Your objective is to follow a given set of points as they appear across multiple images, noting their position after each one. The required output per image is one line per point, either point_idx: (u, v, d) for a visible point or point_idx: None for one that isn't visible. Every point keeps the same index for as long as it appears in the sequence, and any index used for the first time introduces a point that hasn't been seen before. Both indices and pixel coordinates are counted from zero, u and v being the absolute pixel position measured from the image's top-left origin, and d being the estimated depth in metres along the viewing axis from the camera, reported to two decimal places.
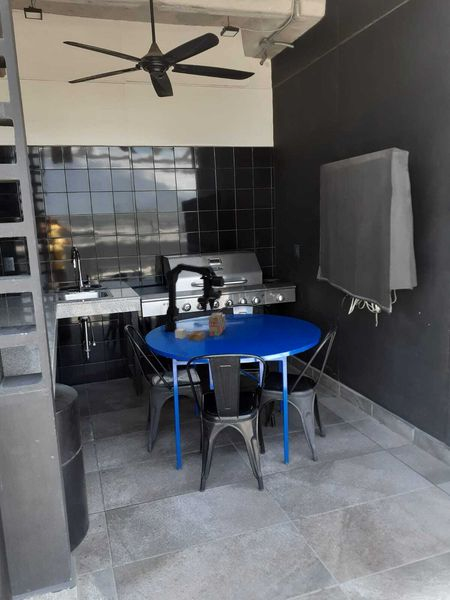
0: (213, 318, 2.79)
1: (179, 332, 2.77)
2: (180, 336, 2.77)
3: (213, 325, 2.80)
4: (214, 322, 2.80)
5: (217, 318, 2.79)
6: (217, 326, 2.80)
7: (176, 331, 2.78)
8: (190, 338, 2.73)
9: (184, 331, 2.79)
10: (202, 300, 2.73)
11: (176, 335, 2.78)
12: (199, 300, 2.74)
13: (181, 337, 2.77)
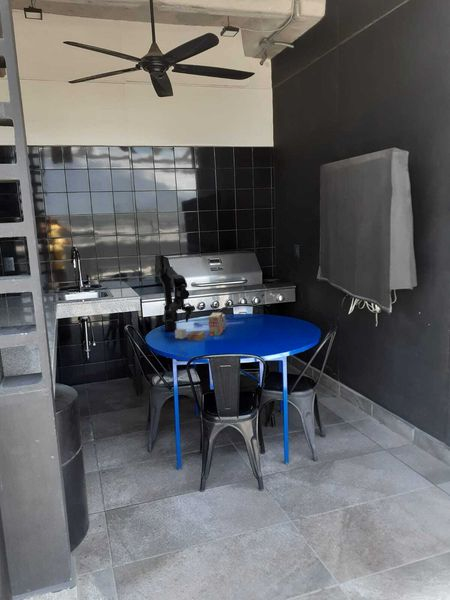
0: (213, 318, 2.80)
1: (179, 332, 2.77)
2: (180, 336, 2.77)
3: (212, 325, 2.81)
4: (214, 321, 2.80)
5: (217, 318, 2.79)
6: (217, 326, 2.80)
7: (176, 331, 2.78)
8: (190, 338, 2.73)
9: (184, 331, 2.79)
10: None
11: (176, 335, 2.78)
12: None
13: (181, 337, 2.77)
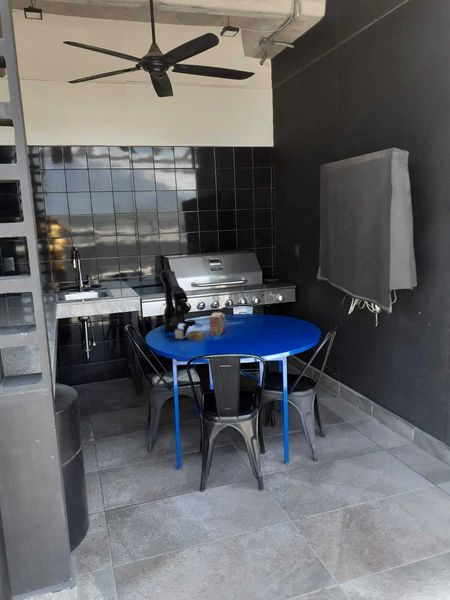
0: (214, 318, 2.80)
1: (179, 332, 2.77)
2: (180, 336, 2.77)
3: (213, 325, 2.81)
4: (214, 321, 2.80)
5: (218, 318, 2.79)
6: (218, 326, 2.80)
7: (176, 331, 2.78)
8: (190, 338, 2.72)
9: None
10: None
11: (176, 335, 2.78)
12: None
13: (181, 337, 2.77)
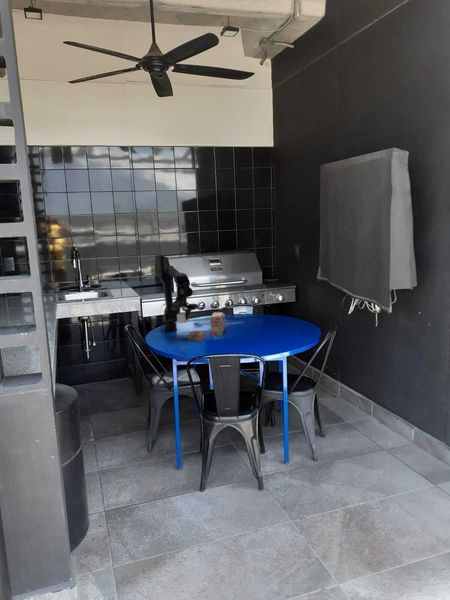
0: (215, 318, 2.80)
1: (181, 316, 2.74)
2: (182, 320, 2.74)
3: (215, 325, 2.81)
4: (216, 321, 2.80)
5: (219, 318, 2.80)
6: (219, 326, 2.81)
7: (178, 315, 2.75)
8: (191, 338, 2.72)
9: None
10: None
11: (178, 319, 2.75)
12: None
13: (183, 321, 2.74)
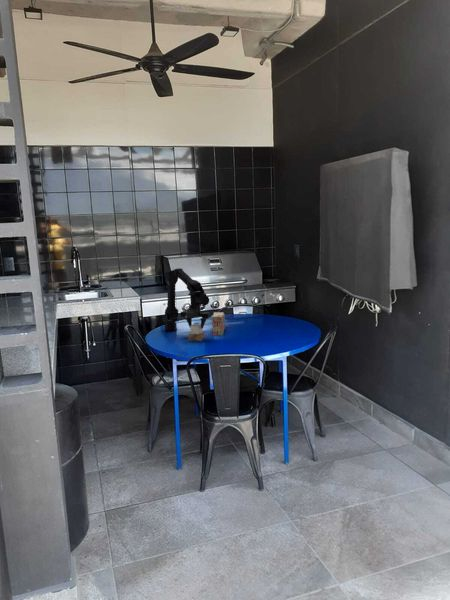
0: (217, 318, 2.80)
1: (195, 328, 2.72)
2: (196, 332, 2.72)
3: (216, 325, 2.81)
4: (217, 321, 2.81)
5: (221, 318, 2.80)
6: (221, 325, 2.81)
7: (191, 326, 2.72)
8: (191, 338, 2.72)
9: (200, 326, 2.74)
10: None
11: (191, 331, 2.73)
12: None
13: (197, 333, 2.72)
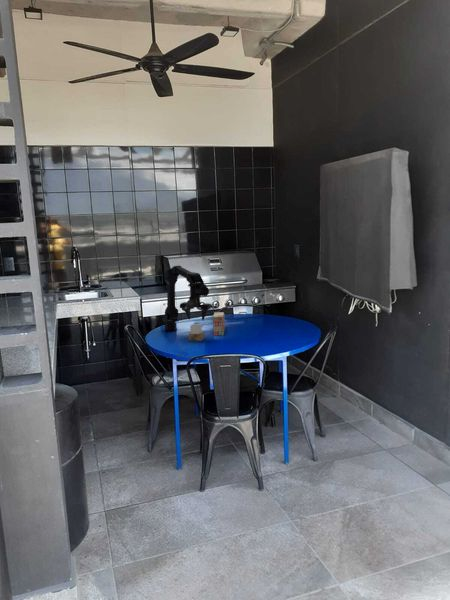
0: (217, 318, 2.80)
1: (195, 328, 2.72)
2: (195, 331, 2.72)
3: (217, 325, 2.81)
4: (218, 321, 2.81)
5: (221, 317, 2.80)
6: (221, 325, 2.81)
7: (191, 326, 2.73)
8: (191, 338, 2.72)
9: (199, 326, 2.74)
10: None
11: (191, 330, 2.73)
12: None
13: (197, 332, 2.72)
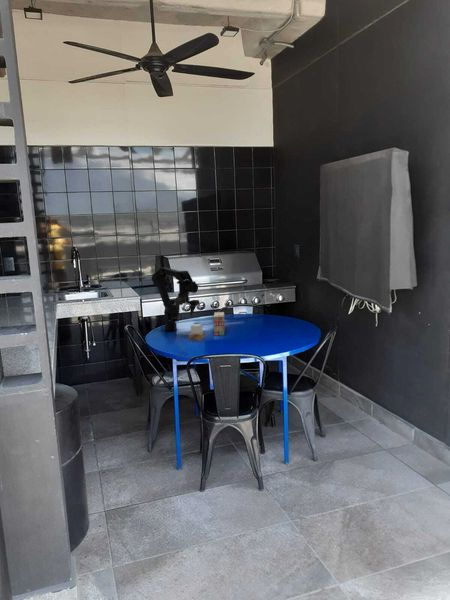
0: (218, 317, 2.81)
1: (195, 328, 2.72)
2: (196, 331, 2.72)
3: (217, 325, 2.81)
4: (219, 321, 2.81)
5: (222, 317, 2.80)
6: (222, 325, 2.81)
7: (192, 326, 2.73)
8: (191, 338, 2.72)
9: (200, 326, 2.74)
10: None
11: (192, 330, 2.73)
12: None
13: (197, 332, 2.72)
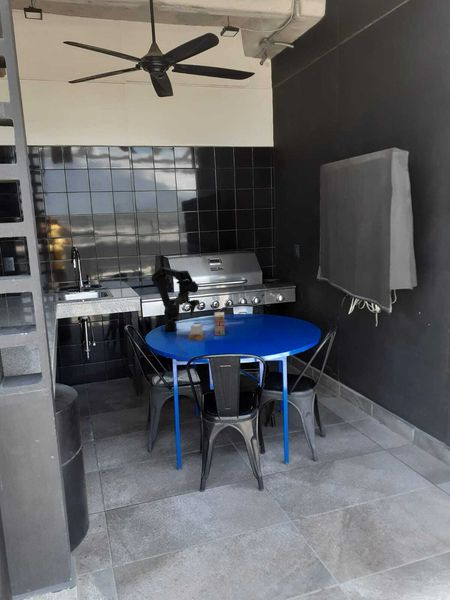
0: (219, 317, 2.81)
1: (195, 328, 2.72)
2: (196, 332, 2.72)
3: (218, 325, 2.82)
4: (219, 321, 2.81)
5: (223, 317, 2.81)
6: (223, 325, 2.82)
7: (192, 326, 2.73)
8: (191, 338, 2.72)
9: (200, 327, 2.73)
10: None
11: (192, 330, 2.73)
12: None
13: (197, 333, 2.72)
